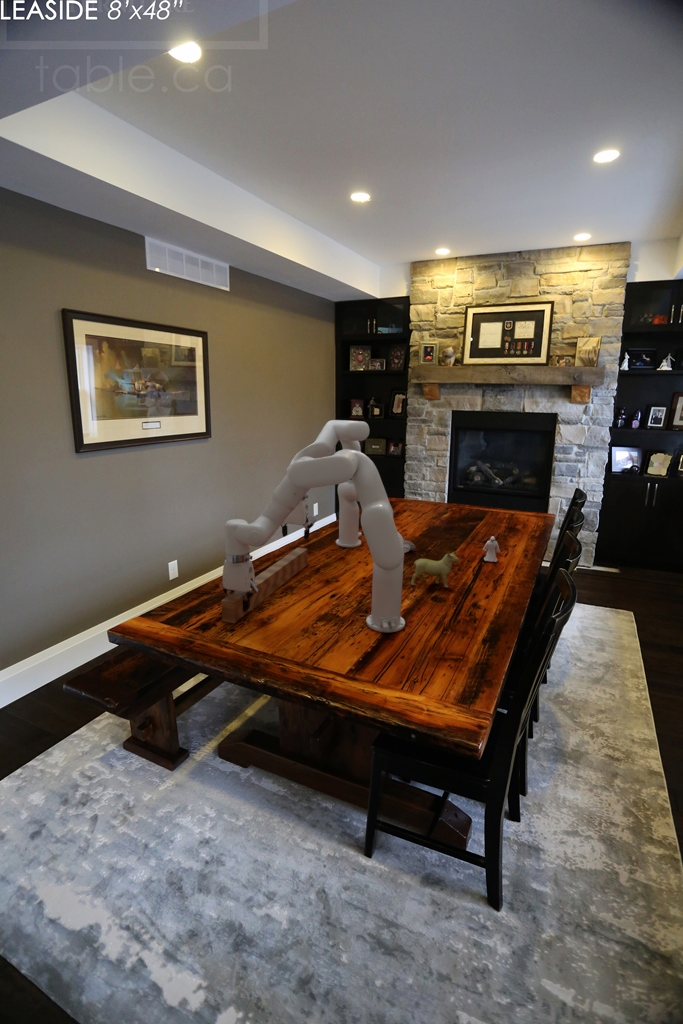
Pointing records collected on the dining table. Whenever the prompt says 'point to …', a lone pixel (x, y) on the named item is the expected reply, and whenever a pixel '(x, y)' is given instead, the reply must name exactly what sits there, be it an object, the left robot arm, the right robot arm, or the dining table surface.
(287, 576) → the beam
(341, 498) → the left robot arm
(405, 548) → the seashell
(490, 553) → the figurine
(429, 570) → the toy
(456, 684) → the dining table surface
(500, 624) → the dining table surface
